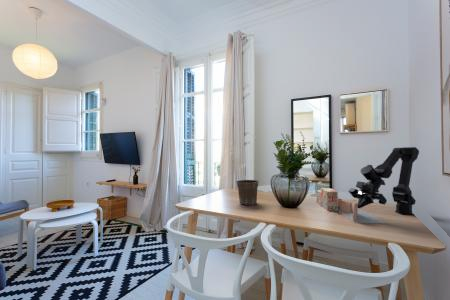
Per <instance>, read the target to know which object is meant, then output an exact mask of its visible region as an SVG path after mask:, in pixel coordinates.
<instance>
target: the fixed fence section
mask: <svg viewBox="0 0 450 300" xmlns="http://www.w3.org/2000/svg"><path fill="white" fill-rule="evenodd" d="M337 202H338V210H341V211H344V212H347V213H352V205H353V201H352V202H351V201H347V200H343V199H342V198H338V201H337Z"/></svg>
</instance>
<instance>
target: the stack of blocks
mask: <svg viewBox="0 0 450 300" xmlns="http://www.w3.org/2000/svg"><path fill="white" fill-rule="evenodd" d="M315 191H316V203H317V204H318V205H319V206H321V207H322V208H324V209H325V210H326V211H327V212H339V211H338V199H339V196H338V191H337V190H335V189H333V188H330V187H321V188H320V189H316V190H315Z"/></svg>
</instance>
